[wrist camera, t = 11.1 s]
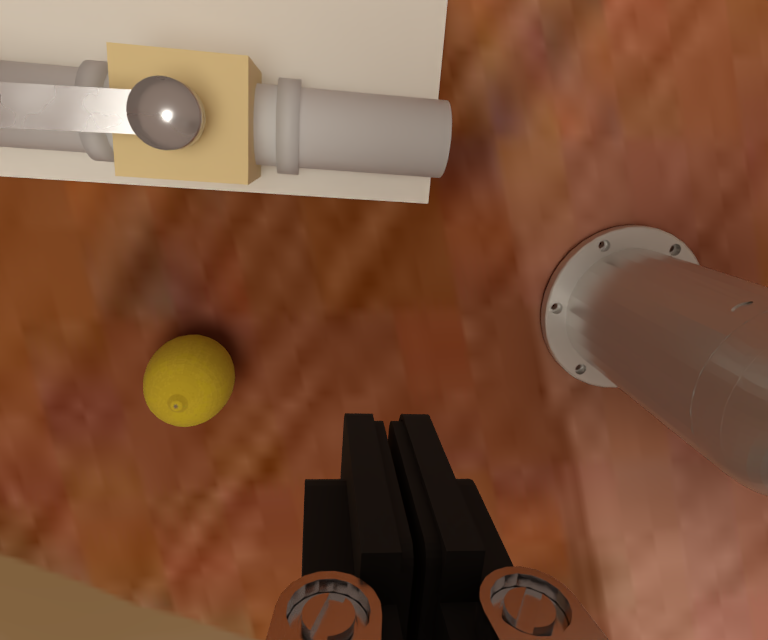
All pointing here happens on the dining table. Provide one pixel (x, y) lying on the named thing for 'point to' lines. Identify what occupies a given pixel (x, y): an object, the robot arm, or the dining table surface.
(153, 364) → the lemon
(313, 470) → the dining table surface
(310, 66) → the valve base
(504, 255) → the dining table surface
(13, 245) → the dining table surface
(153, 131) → the valve lever
